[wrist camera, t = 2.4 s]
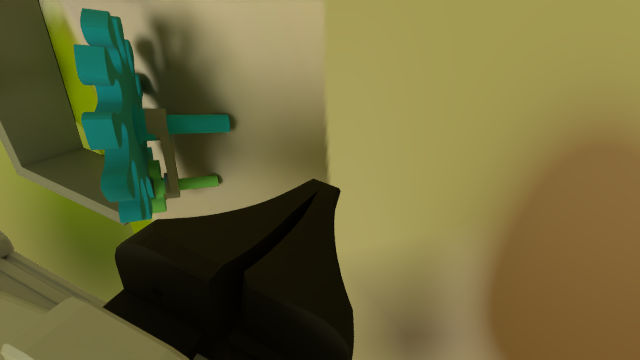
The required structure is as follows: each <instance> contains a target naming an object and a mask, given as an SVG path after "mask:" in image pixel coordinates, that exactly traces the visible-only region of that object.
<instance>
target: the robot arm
mask: <svg viewBox="0 0 640 360" xmlns="http://www.w3.org/2000/svg"><path fill="white" fill-rule="evenodd" d="M339 195H340V189H339V188H337V187H334V186H332V185H329V184H326V183H323V182H321V181H318V180H315V179H312V180H310V181H308V182H306V183H304V184H302V185H300V186H298V187H296V188H294V189H292V190H290V191H288V192H286V193H284V194H282V195H280V196H277V197H275V198H272V199H270V200H267V201H265V202H262V203H259V204H256V205H253V206H249V207H246V208H242V209H238V210H233V211H229V212H224V213H219V214H213V215H207V216H199V217H190V218H175V219H157V220H155V221H154V222H152V223H151V224H149V225H148V226H146V227H145V228H143V229H142V230H140V231H139V232H137V233H136V234H134V235H133V236H131V237H130V238H128V239H127V240H125V241H124V242H122V243H121V244H120V245H119V246H118V247H117V248H116V252H115V261H116V265H117V268H118V271H119V275H120V278H121V281H122V284H123V287H124V289H123V290H122V291H121V292H120V293H119V294H117V295H116V296H115V297H114V298H113V299H111V300H110V301H109V302H108V303H107V302H105V301H103V300H101V299H99V298H98V297H96V296H94V295H92V294H90V293H89V292H87V291H85V290H83V289H82V288H80V287H78V286H76V285H74V284H73V283H71V282H69V281H67V280H65V279H63V278H62V277H60V276H58V275H56V274H55V273H53V272H51V271H49V270H48V269H46V268H44V267H42V266H40V265H39V264H37V263H35V262H33V261H31V260H30V259H28V258H26V257H24V256H23V255H21V254H19V253H17V252H15V251H14V247H13V245H12V243H11V242H10V240H9V239H8V237H7V236H6V235H5V234H4V233H2V232H1V231H0V360H352V356H353V346H354V323H353V309H352V307H351V304H350V301H349V299H348V296H347V293H346V290H345V287H344V283H343V280H342V276H341V272H340V268H339V263H338V259H337V253H336V246H335V235H334V216H335V208H336V205H337V201H338V198H339Z"/></svg>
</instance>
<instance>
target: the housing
mask: <svg viewBox="0 0 640 360" xmlns="http://www.w3.org/2000/svg"><path fill="white" fill-rule="evenodd" d="M0 139H1V141H2V143H3V145H4V147H5V149H6V151H7V153H8V156H9V157H10V160H11V162H12V164H13V166H14V168H15V170H16V172H17V174H18V175H20V176H22V177H24V178H26V179H28V180H31V181H33V182H35V183H37V184H39V185H41V186H43V187H46V188H47V189H49V190H51V191H54V192H56V193H58V194H60V195H62V196H64V197H66V198H68V199H71V200H73V201H75V202H77V203H79V204H81V205H83V206H85V207H87V208H89V209H91V210H93V211H96V212H98V213H100V214H102V215H104V216H106V217H108V218H110V219H113V220H114V221H117V222H119V223H121V222H120V218H119V201H117V202H109V201H108V200H107V199H106V197H105V196H104V194H103V192H102V191H101V184H100V180H101V174H102V172H103V168H104V162H105V156H102V155H100V154H98V153H95V152H93V151H91V150H88V149H86V148H83V145H82V142H81V139H80V136H79V132H78V129H77V126H76V123H75V119H74V116H73V113H72V110H71V106H70V103H69V100H68V97H67V93H66V90H65V87H64V84H63V81H62V77H61V74H60V71H59V68H58V64H57V61H56V58H55V55H54V51H53V48H52V45H51V42H50V38H49V35H48V32H47V29H46V26H45V22H44V19H43V16H42V13H41V9H40V6H39V3H38V0H0ZM155 196H156V194H155ZM164 196H165V199H168V198H167V195H166V194H164ZM128 223H129V222H127V223H121V224H123V225H126V224H128Z"/></svg>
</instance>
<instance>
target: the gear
mask: <svg viewBox="0 0 640 360" xmlns="http://www.w3.org/2000/svg"><path fill="white" fill-rule="evenodd" d="M80 23H81V29H82V32H83V35H84V37H85V39H86V41H87V43H88V44H89V45H90V46H88V45H76V44H75V45H74V53H75V61H76V68H77V73H78V77H79V79H80V81H81V82H82V83H83V84H84V85H95V87H96V90H97V96H98V104H97V107H96V110H95V112H84V113H83V114H82V118H81V120H82V124H83V128H84V131H85V135H86V138H87V141H88V144H89V146H90V148H91V150H99V149H105V162H104V168H103V172H102V174H101V180H100V184H101V191H102V192H103V194H104V196H105V197H106V199H107V200H108V201H109V202H117V201H119V218H120V222H121V223H127V222H134V221H140V220H147V219H152V213H158V212H165V211H167V207H166V199H165V196H164V194H166V195H167V198H177V197H180V190H185V189H194V188H203V187H212V186H218V177H217V175H213V176H202V177H192V178H182V179H178V174H177V168H176V162H175V156H174V151H173V145H172V139H171V134H191V133H222V132H230V122H229V116H228V114H211V115H167V111H166V109H142V97H143V90H142V85H141V81H140V77H139V74H135V69H134V55H133V50H132V47H131V44H130V42H129V40H125V39H124V33H123V28H122V23H121V19H120V18H119V17H115V16H110V13H109V12H107V11H100V10H92V9H84V8H82V12H81V19H80ZM156 140H160V141H161V145H162V150H163V155H164V160H165V165H166V169H167V173H164V178H161V168H160V163H159V160H153V154H152V148H151V147H147V141H156ZM155 194H156V196H155Z"/></svg>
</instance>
